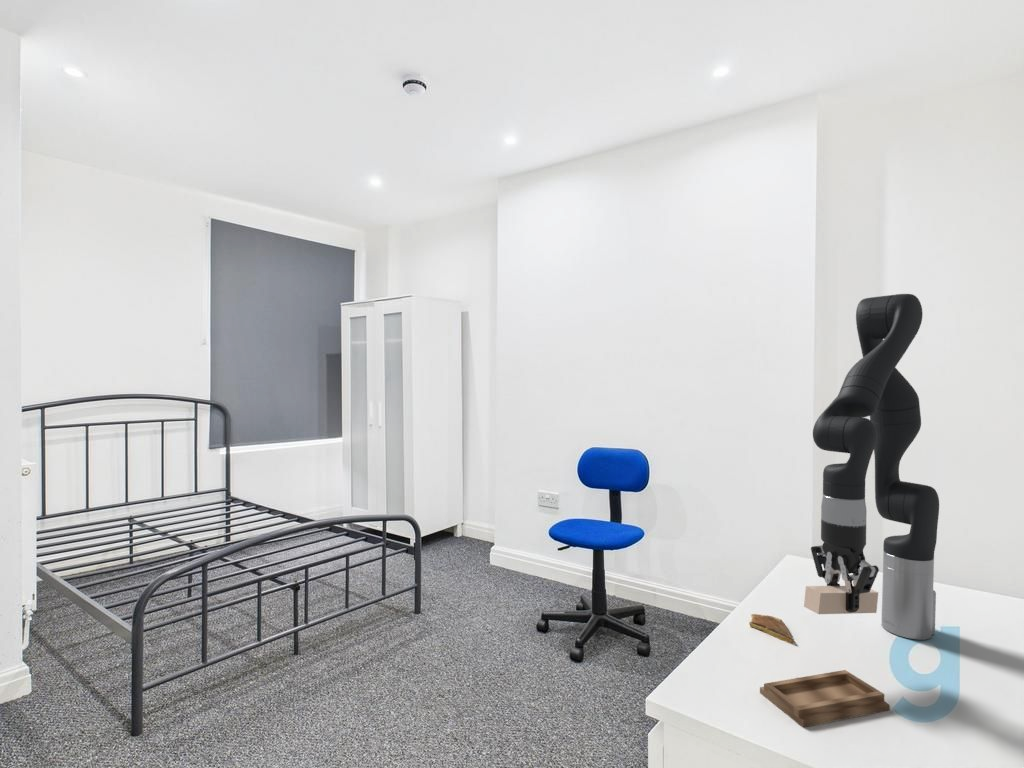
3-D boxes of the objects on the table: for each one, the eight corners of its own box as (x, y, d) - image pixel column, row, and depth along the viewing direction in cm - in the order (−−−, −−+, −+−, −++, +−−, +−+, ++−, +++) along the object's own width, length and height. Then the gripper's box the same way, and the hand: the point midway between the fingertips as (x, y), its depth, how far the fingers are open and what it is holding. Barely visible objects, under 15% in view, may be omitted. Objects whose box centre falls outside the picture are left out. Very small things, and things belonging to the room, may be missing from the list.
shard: (793, 647, 117) (793, 638, 117) (754, 642, 119) (754, 634, 119) (781, 624, 128) (782, 616, 128) (746, 620, 129) (746, 612, 129)
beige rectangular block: (860, 605, 111) (862, 585, 111) (876, 612, 108) (878, 592, 108) (803, 606, 107) (805, 586, 107) (818, 614, 104) (820, 593, 104)
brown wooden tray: (840, 678, 104) (840, 667, 104) (889, 710, 94) (889, 697, 94) (759, 692, 99) (760, 680, 99) (803, 727, 90) (803, 713, 90)
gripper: (892, 527, 101) (891, 620, 102) (828, 508, 115) (828, 590, 115) (860, 531, 99) (858, 625, 100) (799, 511, 113) (798, 594, 113)
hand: (842, 606), depth 108 cm, fingers closed on beige rectangular block, 3 cm apart
